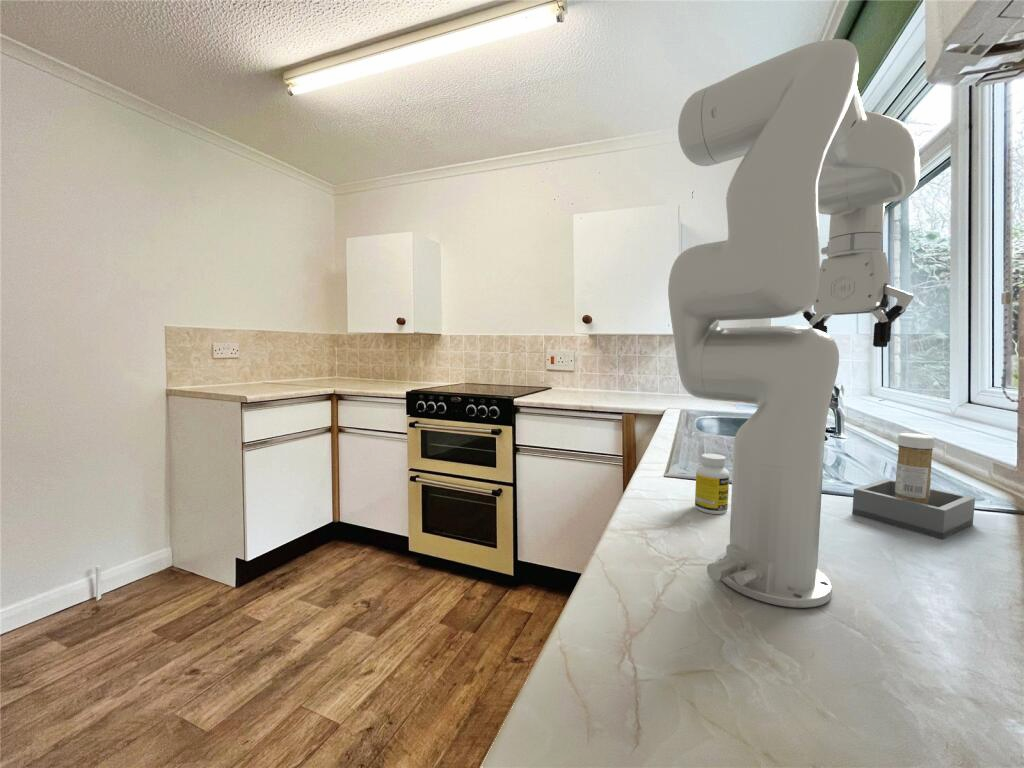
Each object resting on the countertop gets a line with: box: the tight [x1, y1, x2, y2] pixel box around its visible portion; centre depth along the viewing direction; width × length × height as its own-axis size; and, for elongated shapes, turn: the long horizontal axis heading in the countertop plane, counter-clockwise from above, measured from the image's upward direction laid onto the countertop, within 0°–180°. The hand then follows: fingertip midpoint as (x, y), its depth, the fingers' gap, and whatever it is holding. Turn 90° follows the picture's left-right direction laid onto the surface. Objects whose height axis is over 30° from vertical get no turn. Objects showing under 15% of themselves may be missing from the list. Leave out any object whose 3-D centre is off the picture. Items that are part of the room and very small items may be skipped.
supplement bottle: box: [694, 453, 730, 515], centre depth 81 cm, size 5×5×10 cm
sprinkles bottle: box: [895, 432, 935, 505], centre depth 76 cm, size 5×5×14 cm
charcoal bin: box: [851, 478, 976, 540], centre depth 77 cm, size 12×12×4 cm
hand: (848, 346), depth 80 cm, fingers open, 9 cm apart
